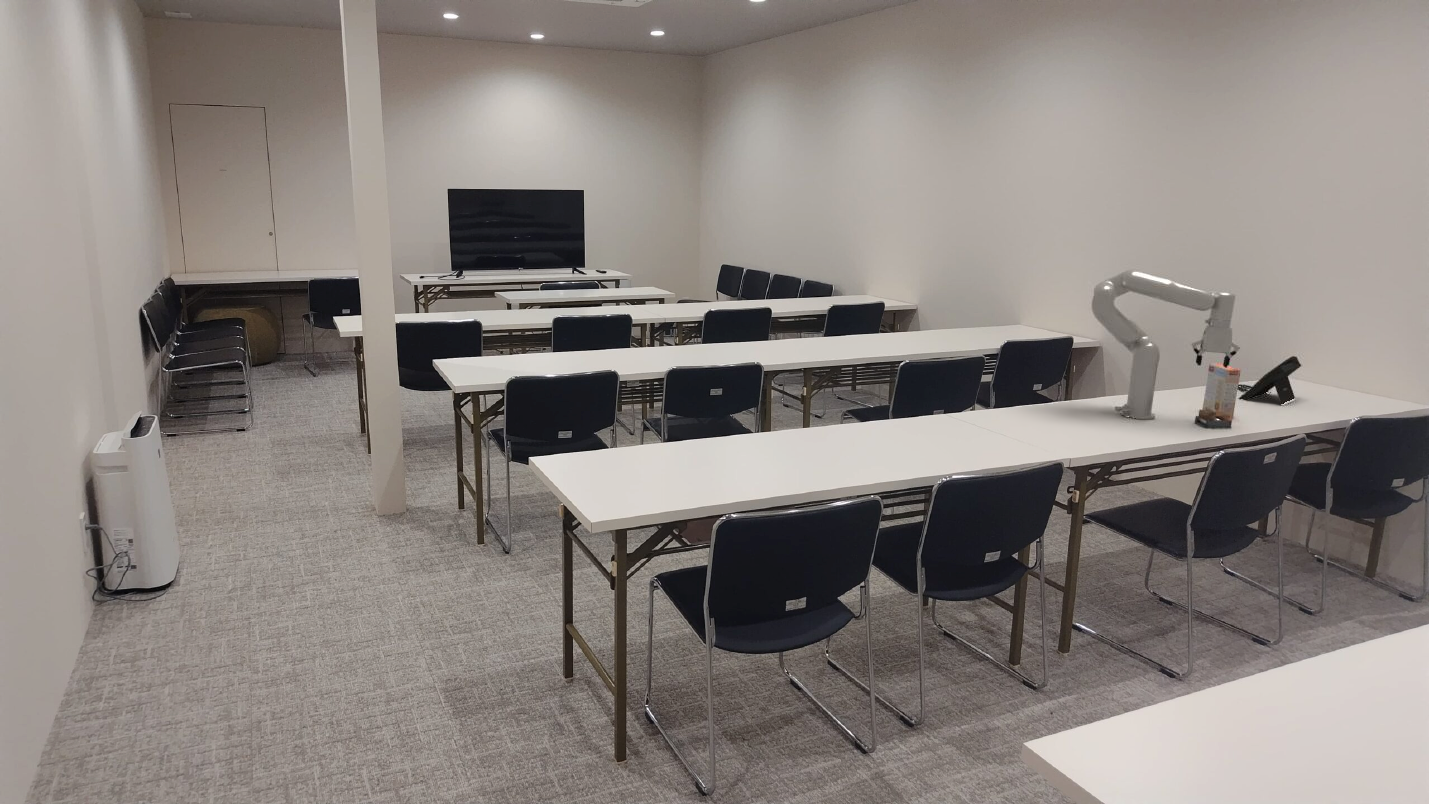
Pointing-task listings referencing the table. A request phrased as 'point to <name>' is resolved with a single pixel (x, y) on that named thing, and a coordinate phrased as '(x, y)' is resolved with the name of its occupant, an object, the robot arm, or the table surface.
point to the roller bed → (1216, 421)
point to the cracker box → (1221, 388)
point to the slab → (1207, 414)
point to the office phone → (1274, 382)
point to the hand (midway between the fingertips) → (1211, 365)
